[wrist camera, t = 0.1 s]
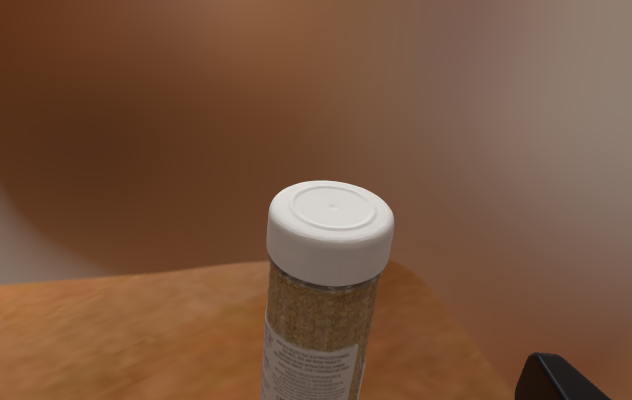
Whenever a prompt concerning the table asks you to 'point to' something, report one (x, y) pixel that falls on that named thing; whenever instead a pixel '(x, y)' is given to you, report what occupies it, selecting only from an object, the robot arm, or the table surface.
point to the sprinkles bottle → (322, 289)
